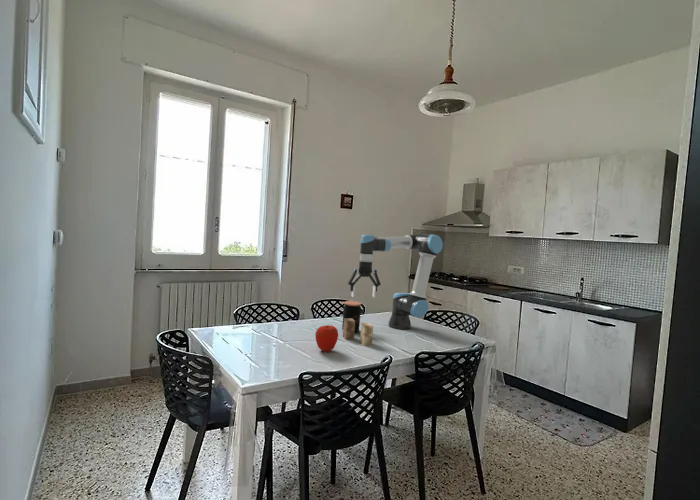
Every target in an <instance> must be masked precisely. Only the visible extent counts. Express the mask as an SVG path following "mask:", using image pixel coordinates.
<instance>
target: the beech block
mask: <svg viewBox="0 0 700 500" xmlns="http://www.w3.org/2000/svg"><path fill="white" fill-rule="evenodd" d="M360 323H361V325H360V336H359V343H360V344H361V345H363V346H373V333H374V325H373V324H371V323H370V322H360Z"/></svg>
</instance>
